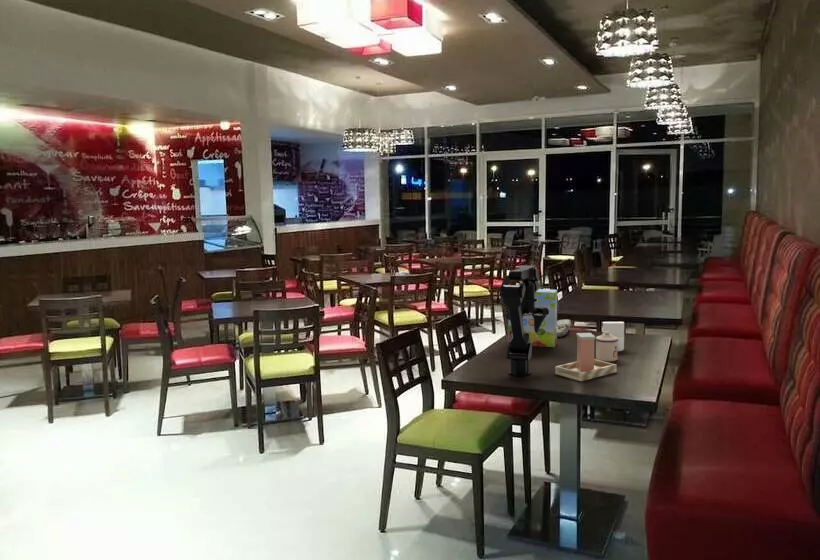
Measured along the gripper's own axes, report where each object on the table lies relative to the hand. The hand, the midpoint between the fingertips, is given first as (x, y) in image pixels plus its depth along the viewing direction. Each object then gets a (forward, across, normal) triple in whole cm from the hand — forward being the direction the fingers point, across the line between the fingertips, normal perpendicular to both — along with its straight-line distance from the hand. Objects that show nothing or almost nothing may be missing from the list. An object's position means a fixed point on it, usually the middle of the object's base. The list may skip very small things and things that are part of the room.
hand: (527, 333), depth 273 cm
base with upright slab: (+13, -48, +4) cm, 50 cm away
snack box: (+13, -27, -25) cm, 39 cm away
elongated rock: (+14, -58, -38) cm, 71 cm away
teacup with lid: (+13, -33, +13) cm, 38 cm away
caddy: (+12, -9, +23) cm, 27 cm away
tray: (+13, -9, +23) cm, 28 cm away
